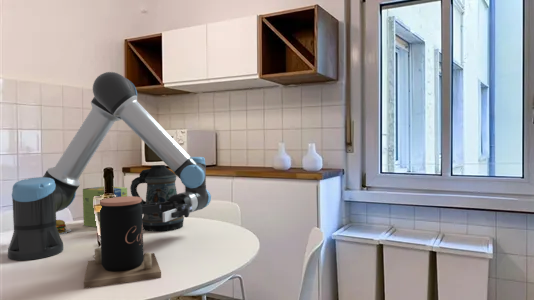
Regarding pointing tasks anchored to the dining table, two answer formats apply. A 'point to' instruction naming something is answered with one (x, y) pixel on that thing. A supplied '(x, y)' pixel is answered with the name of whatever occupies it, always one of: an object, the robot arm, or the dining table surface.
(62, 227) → the hamburger
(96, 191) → the protein box
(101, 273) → the pegged base plate
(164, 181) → the beer stein
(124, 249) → the coffee jar
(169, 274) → the dining table surface
